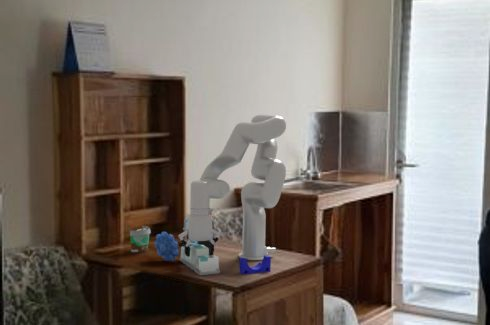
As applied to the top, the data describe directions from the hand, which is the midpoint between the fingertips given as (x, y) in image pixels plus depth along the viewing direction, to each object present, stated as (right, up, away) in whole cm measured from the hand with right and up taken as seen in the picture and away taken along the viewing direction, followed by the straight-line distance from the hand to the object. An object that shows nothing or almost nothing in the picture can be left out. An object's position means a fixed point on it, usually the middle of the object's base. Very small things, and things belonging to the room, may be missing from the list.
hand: (199, 254), depth 283 cm
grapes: (-14, -4, +8) cm, 17 cm away
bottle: (+1, -3, +17) cm, 18 cm away
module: (0, -4, 0) cm, 4 cm away
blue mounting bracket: (+22, -6, -5) cm, 23 cm away
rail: (0, -5, +1) cm, 5 cm away
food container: (-26, -2, +25) cm, 36 cm away
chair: (-6, -1, +44) cm, 44 cm away
